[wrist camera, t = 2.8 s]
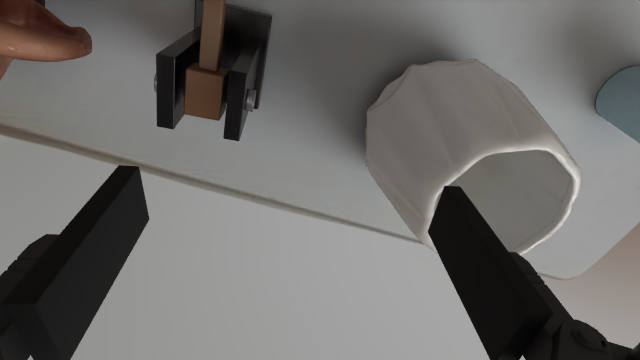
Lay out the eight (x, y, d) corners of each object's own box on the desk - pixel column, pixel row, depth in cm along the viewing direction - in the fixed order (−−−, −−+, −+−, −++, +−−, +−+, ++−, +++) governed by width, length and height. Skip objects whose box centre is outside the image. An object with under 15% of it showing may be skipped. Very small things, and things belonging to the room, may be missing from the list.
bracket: (198, -3, 28) (145, 16, 18) (272, 15, 29) (261, 43, 19) (194, 92, 32) (148, 150, 22) (258, 105, 33) (243, 166, 23)
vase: (327, 129, 35) (347, 227, 22) (436, 13, 29) (546, 51, 17) (416, 199, 40) (473, 310, 27) (520, 112, 35) (652, 197, 22)
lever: (175, -154, 17) (160, -176, 15) (283, -119, 18) (282, -135, 16) (167, 99, 23) (155, 109, 21) (249, 115, 24) (245, 126, 22)
